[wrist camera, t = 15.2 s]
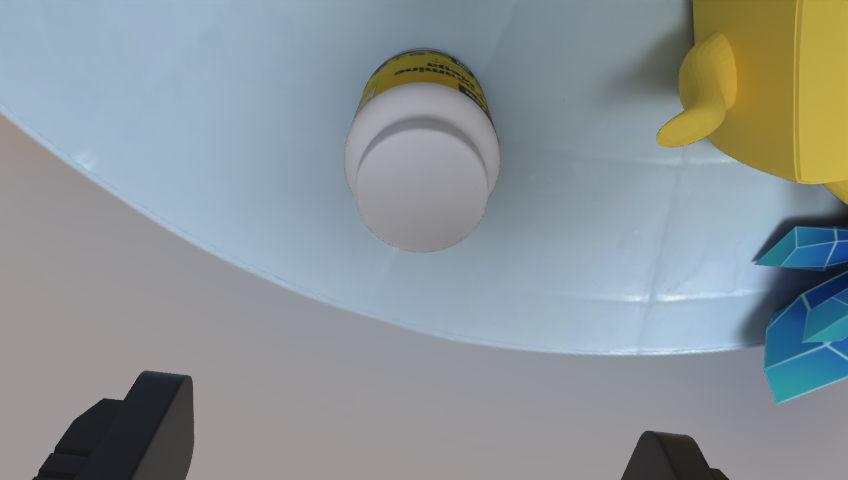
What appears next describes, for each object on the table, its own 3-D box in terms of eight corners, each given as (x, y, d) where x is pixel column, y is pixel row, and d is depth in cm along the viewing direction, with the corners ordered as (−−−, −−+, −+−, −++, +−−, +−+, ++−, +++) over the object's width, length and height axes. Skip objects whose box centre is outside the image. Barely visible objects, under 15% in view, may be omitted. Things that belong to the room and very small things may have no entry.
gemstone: (960, 282, 25) (744, 424, 32) (1034, 304, 29) (829, 426, 36) (838, 171, 30) (674, 315, 37) (917, 203, 34) (756, 328, 41)
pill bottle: (506, 81, 30) (547, 157, 20) (448, 184, 32) (459, 296, 22) (393, 21, 28) (378, 72, 19) (342, 134, 31) (305, 230, 21)
